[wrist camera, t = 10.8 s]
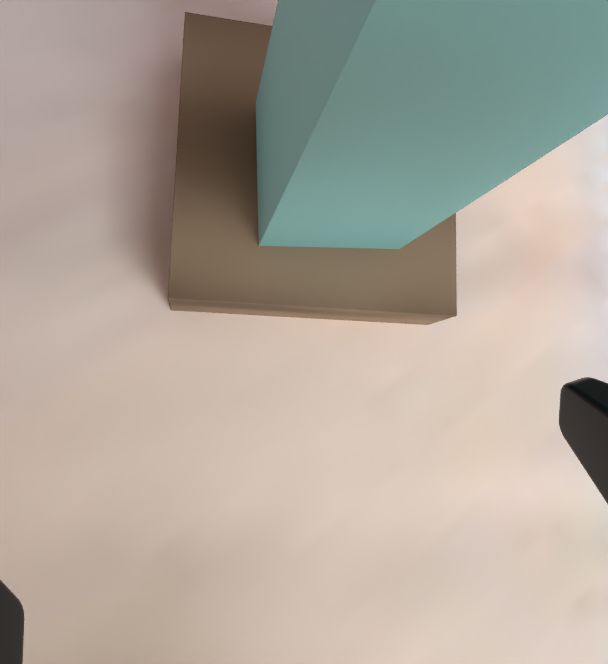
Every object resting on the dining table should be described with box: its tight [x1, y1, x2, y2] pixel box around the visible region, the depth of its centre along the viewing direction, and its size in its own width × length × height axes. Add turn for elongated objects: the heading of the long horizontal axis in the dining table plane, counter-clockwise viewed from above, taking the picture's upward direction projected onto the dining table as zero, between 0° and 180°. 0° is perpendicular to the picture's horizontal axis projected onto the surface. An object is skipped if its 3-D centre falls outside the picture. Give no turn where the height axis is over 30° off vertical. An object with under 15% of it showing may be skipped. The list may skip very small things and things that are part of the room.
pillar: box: [256, 0, 608, 249], centre depth 12 cm, size 5×5×13 cm
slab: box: [168, 12, 457, 325], centre depth 20 cm, size 10×10×3 cm
